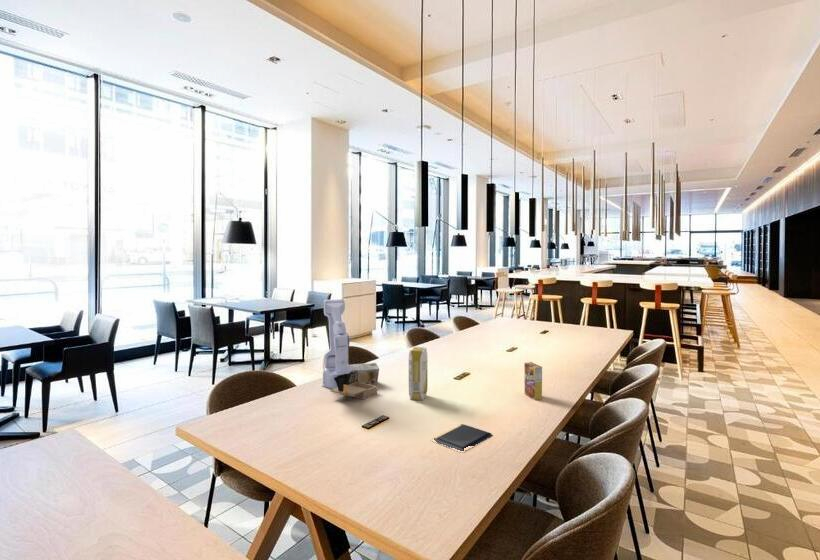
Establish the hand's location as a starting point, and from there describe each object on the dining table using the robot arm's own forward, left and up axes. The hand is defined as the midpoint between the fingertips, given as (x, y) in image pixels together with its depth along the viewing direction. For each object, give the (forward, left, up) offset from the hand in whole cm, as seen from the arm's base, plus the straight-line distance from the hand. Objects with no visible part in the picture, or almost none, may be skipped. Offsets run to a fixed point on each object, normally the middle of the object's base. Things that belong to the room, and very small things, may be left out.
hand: (342, 390), depth 200 cm
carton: (0, +12, -5) cm, 13 cm away
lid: (0, +4, -1) cm, 4 cm away
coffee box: (-4, +30, 0) cm, 31 cm away
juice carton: (+26, +23, -5) cm, 35 cm away
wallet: (+63, -5, -6) cm, 64 cm away
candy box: (+70, +53, -5) cm, 88 cm away
